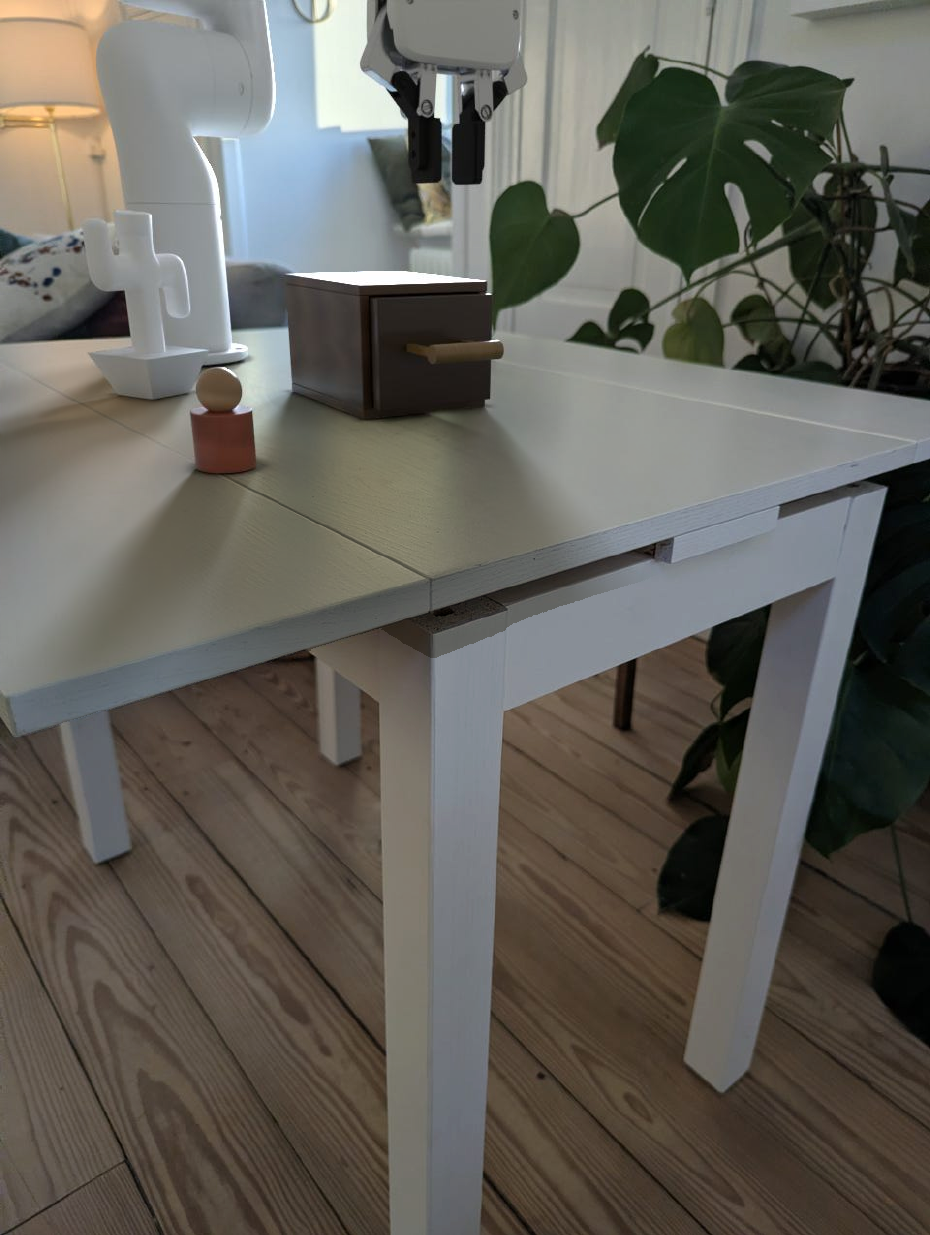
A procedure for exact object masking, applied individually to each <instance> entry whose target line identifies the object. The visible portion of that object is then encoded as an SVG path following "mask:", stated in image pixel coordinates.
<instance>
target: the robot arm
mask: <svg viewBox="0 0 930 1235" xmlns="http://www.w3.org/2000/svg"><path fill="white" fill-rule="evenodd" d="M116 1H117V2H120V3H122V4H123V5H127V6H130V7H134V8H137V9H142V10H146V11H147V10H148V11H153V12H157V13H165V14H170V15H175V16H181V17H188V18H195V19H199V20H200V21H201V23H202V25H203V28H197V27H193V26H190V25H183V24H178V23H177V24H176V23H170V22H165V21H164V22H163V21H157V20H148V19H130V20H124V21H119V22H117V23H114V24H113V25H110V26H109V27H108V28H107V29H106V30H105V31H104V32H103V33H102V35H101V37H100V38H99V41H98V43H97V46H96V51H95V68H96V76H97V82H98V86H99V90H100V93H101V97H102V100H103V103H104V107H105V111H106V113H107V117H108V120H109V124H110V129H111V131H112V132H111V133H112V136H113V137H112V138H113V141H114V145H115V150H116V156H117V162H118V168H119V174H120V182H121V188H122V196H123V203H124V204H123V205H124V210H132V211H133V212H145V213H149V214H151V215H152V231H153V234H152V237H153V247H154V253H155V254H167V253H169V254H174V255H176V256H178V257H179V258H180V259H181V260H182V262H183V264H184V267H185V271H186V276H187V285H188V294H189V304H190V314H189V315H188V316H187V317H185V318H174V317H171V316H170V315H169V314H168V312H167V308H166V300H165V295H164V291H163V288H159V299H160V307H161V316H162V324H163V333H164V342H165V345H166V346H175V347H184V348H194V349H203V350H209V352H208V354H207V356H206V358H205V361H204V363H203V365H202V367H204V366H213V365H215V366H216V365H223V364H224V365H225V364H232V363H236V362H240V361H244V360H245V359H247V358H248V356H249V355H248V354H249V353H248V347H247V346H246V345H244V344H240V343H236V342H233V337H232V336H233V335H232V325H231V313H230V303H229V290H228V280H227V270H226V269H227V268H226V259H225V258H226V257H225V256H226V255H225V246H224V234H223V224H222V212H221V211H222V210H221V200H220V192H219V185H218V182H217V177H216V175H215V172H214V170H213V168H212V166H211V164H210V163H209V161H208V158H207V157H206V156H205V154H204V153H203V151H202V149H201V148H200V146H199V145H198V143H197V141H196V140H195V138H194V137H208V138H222V139H239V140H240V139H241V140H242V139H252V138H257V137H258V136H260V135H262V134H263V133H264V132H265V131H266V130H267V129H268V127H269V125H270V124H271V122H272V119H273V116H274V111H275V106H276V105H275V104H276V81H275V79H276V78H275V72H274V70H275V69H274V62H273V61H274V60H273V52H272V44H271V38H270V30H269V23H268V22H269V21H268V14H267V6H266V0H116ZM521 34H522V0H366V45H365V48H364V50H363V53H362V55H361V57H360V61H359V67H360V69H361V71H362V73H364V74H365V75H366V76H368V77H369V78H370V79H372V80H373V81H374V82H376V83H378V85H380V86H382V87H384V88H385V90H386V91H387V93H388V94H389V96H390V97H391V99H392V100H393V101H394V102H395V104H396V106H398V107H399V113H400V116H401V117H402V119H403V120H405V121H407V159H408V160H407V162H408V168H409V169H410V170H411V173H410V174H411V182H412V183H413V184H414V185H415V184H417V185H420V184H421V185H422V184H438V183H439V182H441V181H442V179H443V123H442V121H441V118H440V117H435V110H436V92H437V76H438V75H445V76H454V77H456V86H457V106H458V118H459V120H458V123H453V126H452V128H451V182H452V183H453V184H454V185H455V186H473V185H476V186H477V185H481V184H482V183H483V173H484V172H483V171H484V170H485V162H486V159H485V158H486V123H488V122H490V121H492V119H493V117H494V112H495V111H496V110H497V109H498V107H499V106H500V105H501V103H502V102H504V100H505V98H506V97H508V96H509V95H511V94H513V93H515V92H516V91H518V90H520V89H522V88H523V87H525V86H526V85H527V83H528V75H527V72H526V68H525V64H524V61H523V57H522V55H521V51H520V47H521ZM493 71H499V72H498V75H497V76H496V77H495V78H493Z"/></svg>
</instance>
